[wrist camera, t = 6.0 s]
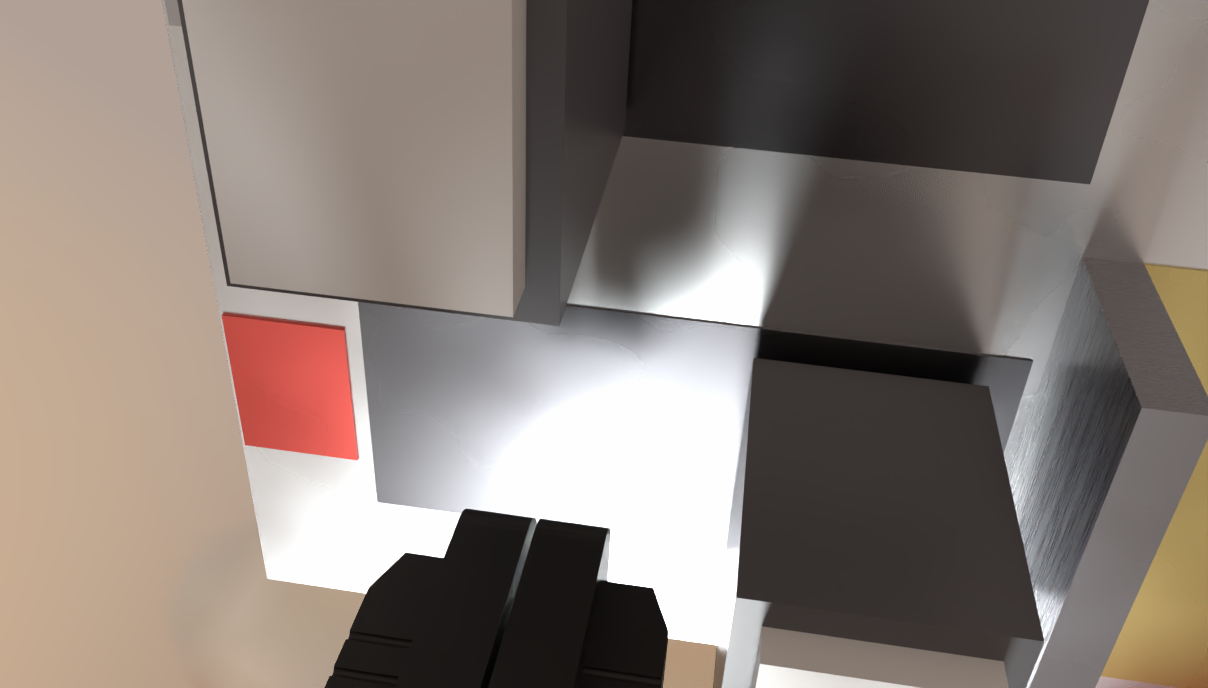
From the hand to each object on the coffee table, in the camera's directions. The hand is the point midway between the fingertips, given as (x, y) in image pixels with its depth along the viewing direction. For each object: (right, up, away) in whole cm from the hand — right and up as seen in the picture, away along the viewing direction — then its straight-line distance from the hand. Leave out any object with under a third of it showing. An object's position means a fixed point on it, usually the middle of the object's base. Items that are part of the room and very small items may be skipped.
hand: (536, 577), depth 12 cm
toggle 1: (0, +6, -1) cm, 6 cm away
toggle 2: (+4, +1, +1) cm, 4 cm away
